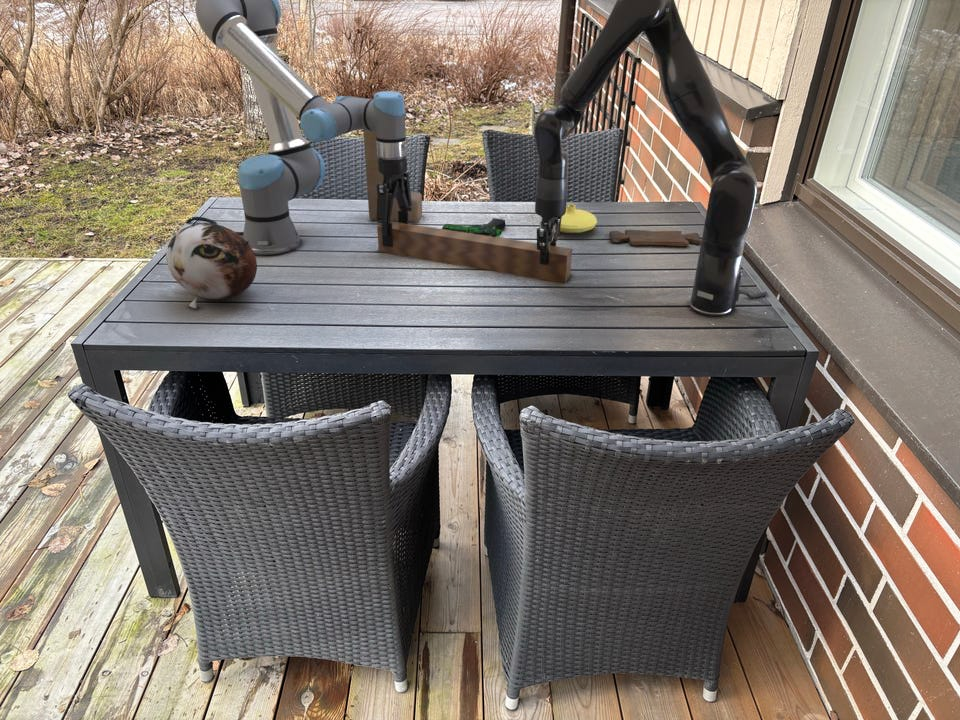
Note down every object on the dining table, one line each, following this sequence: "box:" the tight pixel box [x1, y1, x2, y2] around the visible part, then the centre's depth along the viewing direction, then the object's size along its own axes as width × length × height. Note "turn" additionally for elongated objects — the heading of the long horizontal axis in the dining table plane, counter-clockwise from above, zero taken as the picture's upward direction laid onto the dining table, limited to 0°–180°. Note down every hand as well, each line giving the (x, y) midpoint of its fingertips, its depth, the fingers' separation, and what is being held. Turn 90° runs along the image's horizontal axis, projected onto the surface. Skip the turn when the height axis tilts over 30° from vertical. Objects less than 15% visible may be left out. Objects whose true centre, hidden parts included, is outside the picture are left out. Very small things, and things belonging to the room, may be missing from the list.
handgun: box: [441, 217, 506, 237], centre depth 207 cm, size 16×3×15 cm
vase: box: [560, 203, 598, 234], centre depth 209 cm, size 16×16×7 cm
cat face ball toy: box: [165, 222, 258, 309], centre depth 165 cm, size 22×18×20 cm
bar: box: [376, 221, 573, 284], centre depth 187 cm, size 52×5×7 cm, turn 69°
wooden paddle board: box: [608, 229, 701, 247], centre depth 204 cm, size 26×2×10 cm
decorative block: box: [362, 130, 423, 223], centre depth 209 cm, size 8×15×30 cm, turn 82°
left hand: (396, 240), depth 194 cm, fingers open, 9 cm apart
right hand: (547, 259), depth 180 cm, fingers open, 5 cm apart
